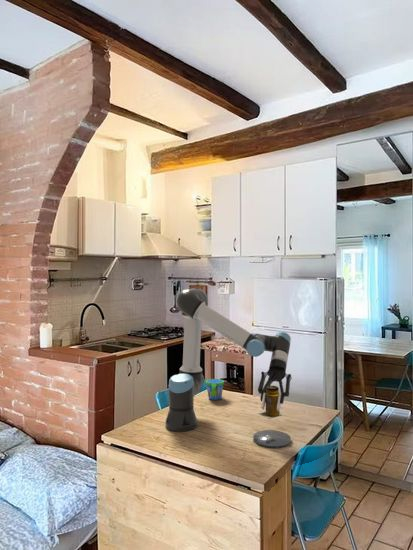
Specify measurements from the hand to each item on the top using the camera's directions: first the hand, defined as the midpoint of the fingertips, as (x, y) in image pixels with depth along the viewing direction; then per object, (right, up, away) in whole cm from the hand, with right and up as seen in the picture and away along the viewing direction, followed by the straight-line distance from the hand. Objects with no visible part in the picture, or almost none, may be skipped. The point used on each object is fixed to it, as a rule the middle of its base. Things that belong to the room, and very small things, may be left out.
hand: (270, 408), depth 179 cm
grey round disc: (+1, -15, +3) cm, 15 cm away
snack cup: (-22, -15, +64) cm, 69 cm away
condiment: (+1, -4, +3) cm, 5 cm away
